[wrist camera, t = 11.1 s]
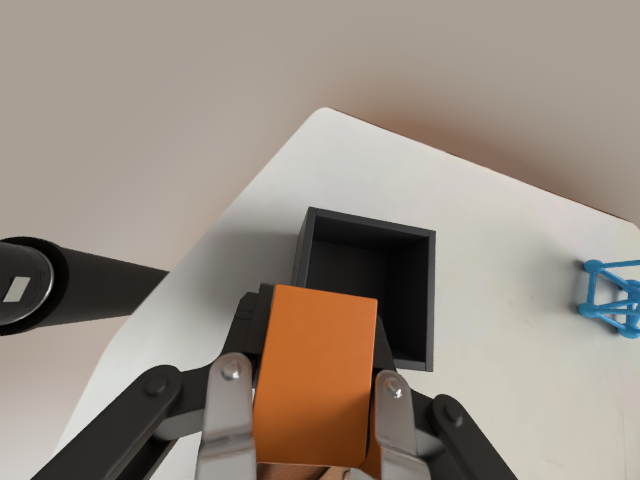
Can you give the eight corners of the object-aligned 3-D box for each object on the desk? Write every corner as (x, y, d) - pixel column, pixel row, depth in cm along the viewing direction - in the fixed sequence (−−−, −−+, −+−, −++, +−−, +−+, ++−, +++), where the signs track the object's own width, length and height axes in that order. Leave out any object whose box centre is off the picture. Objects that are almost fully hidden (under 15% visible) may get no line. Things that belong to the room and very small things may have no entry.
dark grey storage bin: (282, 335, 31) (285, 356, 20) (298, 233, 34) (308, 206, 24) (382, 347, 33) (433, 372, 22) (389, 249, 36) (436, 230, 25)
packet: (260, 370, 15) (240, 465, 7) (275, 289, 17) (274, 281, 8) (317, 376, 16) (366, 471, 7) (327, 297, 17) (379, 297, 8)
